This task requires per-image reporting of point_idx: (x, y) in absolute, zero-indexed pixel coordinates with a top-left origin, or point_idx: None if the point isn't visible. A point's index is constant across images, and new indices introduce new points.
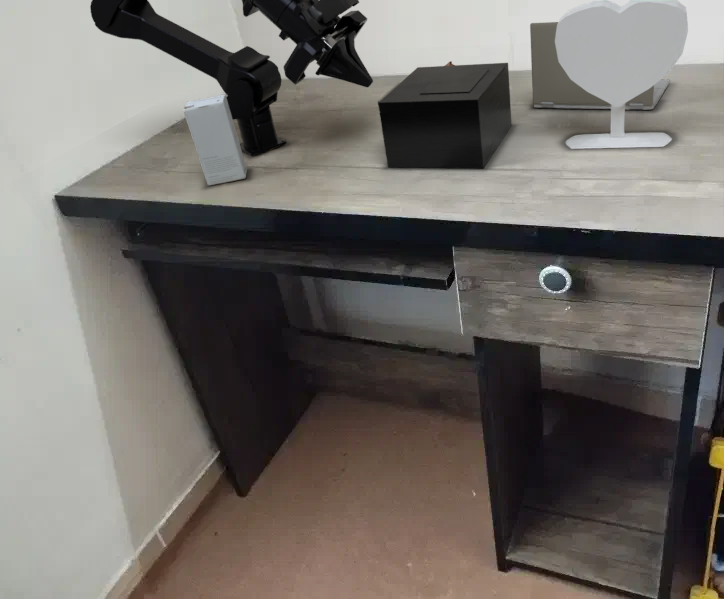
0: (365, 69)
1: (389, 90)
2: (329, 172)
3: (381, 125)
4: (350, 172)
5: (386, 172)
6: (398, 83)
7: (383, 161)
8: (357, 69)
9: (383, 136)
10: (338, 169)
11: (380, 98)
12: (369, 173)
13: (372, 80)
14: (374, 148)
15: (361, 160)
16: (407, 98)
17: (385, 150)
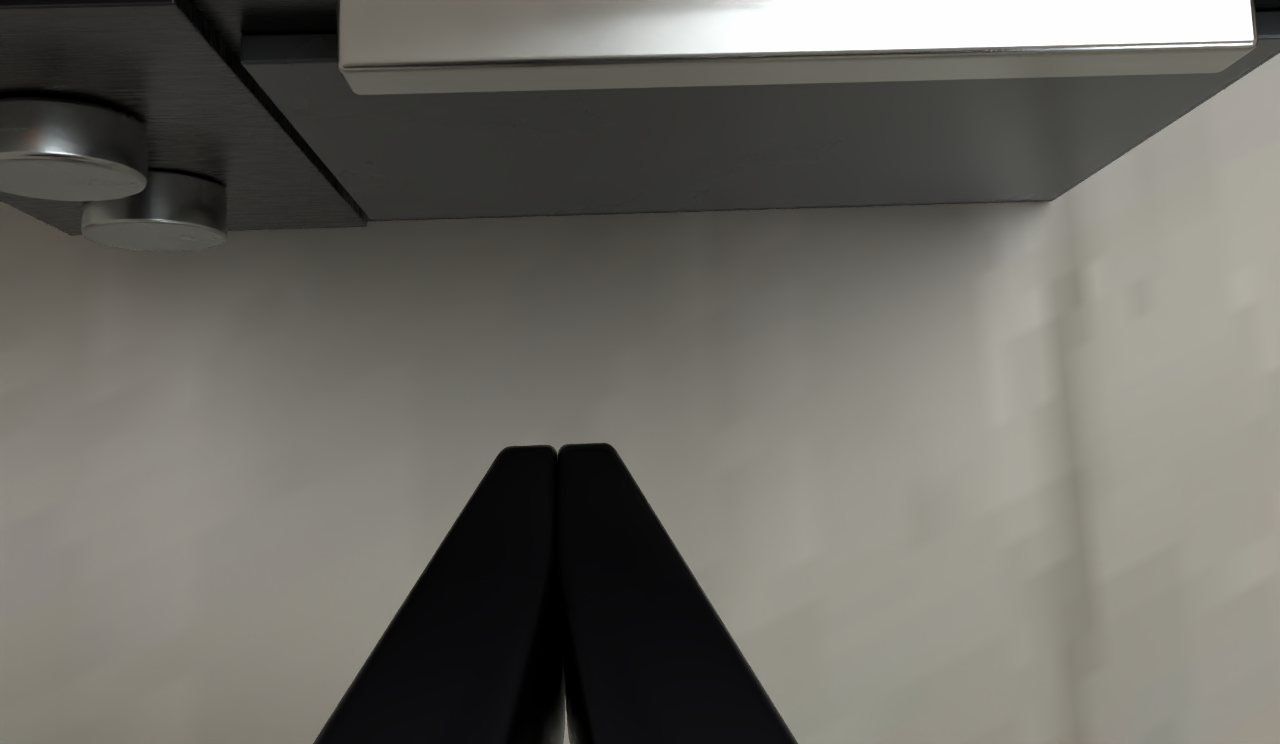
0: (453, 609)
1: (747, 54)
2: (1206, 726)
3: (1211, 93)
4: (1181, 513)
5: (1142, 177)
6: (383, 39)
7: (921, 305)
8: (759, 684)
9: (1194, 107)
10: (1133, 667)
11: (1136, 48)
12: (1180, 322)
13: (527, 446)
14: None
15: (916, 533)
16: None
17: (1074, 181)
